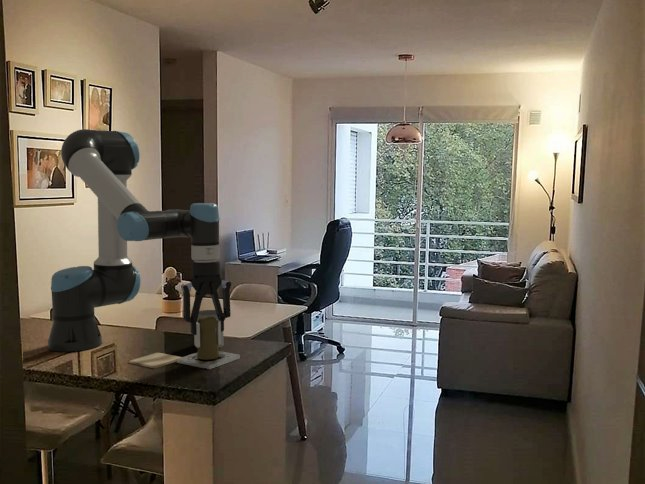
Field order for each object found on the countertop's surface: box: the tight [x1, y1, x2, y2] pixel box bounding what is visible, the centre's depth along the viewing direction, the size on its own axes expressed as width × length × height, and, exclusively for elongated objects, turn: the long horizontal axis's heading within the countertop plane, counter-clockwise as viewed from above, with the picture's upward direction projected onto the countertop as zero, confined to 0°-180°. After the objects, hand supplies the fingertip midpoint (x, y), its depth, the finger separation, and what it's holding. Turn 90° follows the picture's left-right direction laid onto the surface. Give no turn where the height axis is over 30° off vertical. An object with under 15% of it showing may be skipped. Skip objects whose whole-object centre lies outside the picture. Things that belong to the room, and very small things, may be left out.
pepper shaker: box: [196, 316, 220, 361], centre depth 171 cm, size 6×6×11 cm
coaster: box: [128, 352, 183, 370], centre depth 172 cm, size 10×10×1 cm
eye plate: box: [176, 350, 241, 370], centre depth 172 cm, size 12×12×1 cm
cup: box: [195, 309, 225, 349], centre depth 187 cm, size 8×8×10 cm
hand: (207, 344), depth 171 cm, fingers closed on pepper shaker, 5 cm apart
